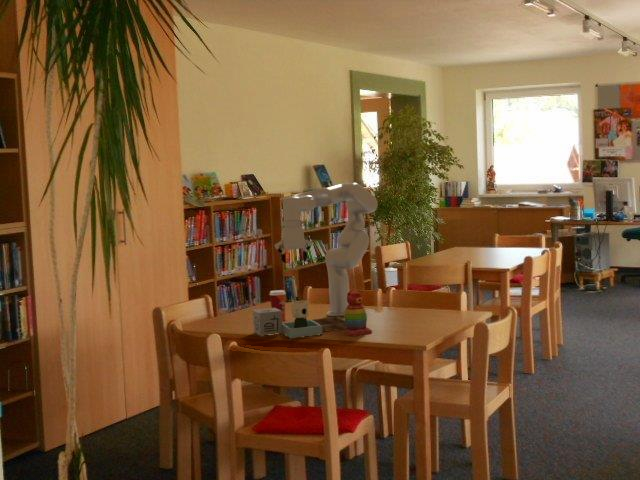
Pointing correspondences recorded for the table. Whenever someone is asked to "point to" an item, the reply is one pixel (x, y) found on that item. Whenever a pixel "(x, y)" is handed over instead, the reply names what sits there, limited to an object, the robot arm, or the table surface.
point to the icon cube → (267, 321)
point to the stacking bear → (356, 315)
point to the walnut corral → (338, 320)
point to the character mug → (300, 313)
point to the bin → (302, 329)
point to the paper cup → (278, 301)
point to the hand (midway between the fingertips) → (294, 261)
